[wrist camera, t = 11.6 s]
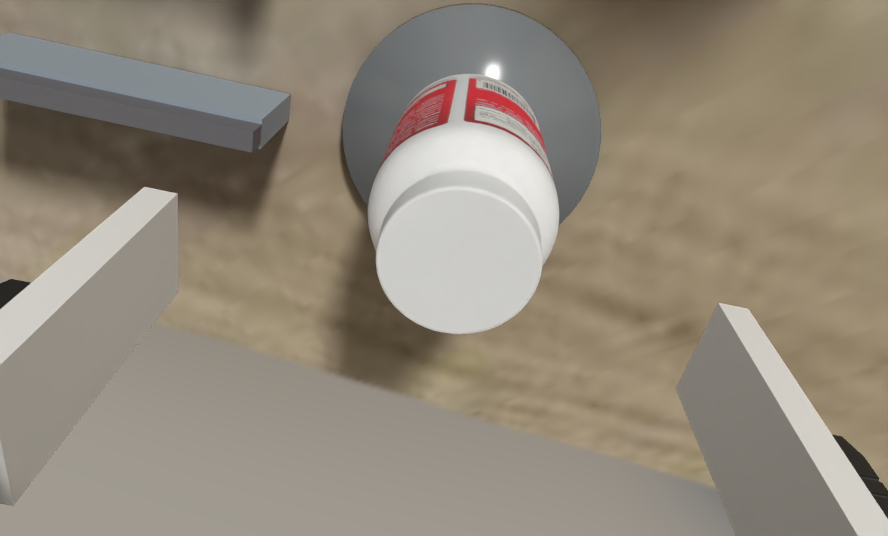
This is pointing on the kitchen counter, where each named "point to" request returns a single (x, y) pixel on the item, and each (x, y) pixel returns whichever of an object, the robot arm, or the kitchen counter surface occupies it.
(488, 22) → the coaster
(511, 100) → the pill bottle
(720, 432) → the robot arm
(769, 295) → the kitchen counter surface
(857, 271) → the kitchen counter surface
